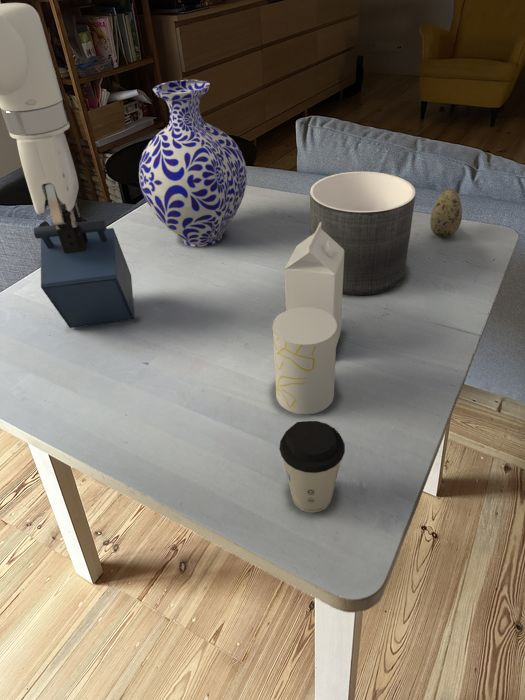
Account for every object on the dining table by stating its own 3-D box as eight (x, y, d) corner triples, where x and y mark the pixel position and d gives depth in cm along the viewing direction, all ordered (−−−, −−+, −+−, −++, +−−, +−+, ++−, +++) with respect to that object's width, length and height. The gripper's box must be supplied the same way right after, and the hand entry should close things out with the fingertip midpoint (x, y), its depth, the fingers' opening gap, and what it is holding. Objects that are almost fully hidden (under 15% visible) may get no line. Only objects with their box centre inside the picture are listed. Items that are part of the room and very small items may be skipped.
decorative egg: (431, 228, 113) (438, 182, 107) (460, 232, 111) (469, 185, 105) (424, 240, 109) (431, 193, 103) (455, 245, 107) (463, 197, 101)
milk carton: (286, 354, 83) (283, 242, 71) (298, 327, 88) (296, 219, 76) (332, 360, 81) (336, 247, 69) (340, 333, 86) (346, 223, 74)
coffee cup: (352, 487, 63) (357, 428, 57) (324, 532, 58) (325, 473, 52) (301, 463, 66) (300, 405, 60) (270, 504, 62) (265, 445, 55)
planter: (315, 299, 94) (316, 215, 85) (305, 251, 108) (305, 174, 99) (415, 292, 94) (428, 208, 85) (393, 245, 108) (401, 168, 98)
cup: (264, 392, 76) (259, 324, 69) (305, 367, 80) (305, 300, 73) (303, 423, 71) (303, 353, 64) (346, 394, 75) (350, 325, 68)
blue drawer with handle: (110, 262, 75) (106, 210, 79) (29, 271, 74) (29, 218, 78) (134, 319, 92) (131, 274, 95) (69, 328, 91) (68, 282, 94)
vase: (132, 238, 117) (99, 90, 98) (210, 207, 128) (193, 68, 109) (190, 272, 104) (165, 109, 85) (271, 235, 115) (264, 82, 96)
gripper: (18, 105, 74) (58, 228, 86) (-8, 141, 62) (43, 278, 74) (73, 100, 75) (105, 222, 86) (58, 134, 63) (98, 270, 74)
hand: (76, 247), depth 80 cm, fingers closed on blue drawer with handle
